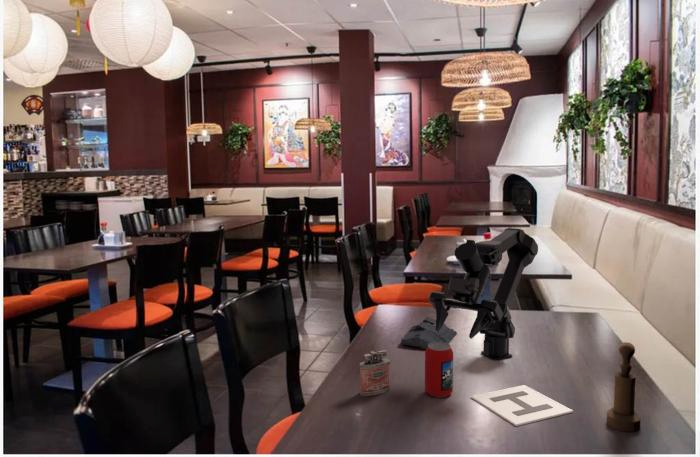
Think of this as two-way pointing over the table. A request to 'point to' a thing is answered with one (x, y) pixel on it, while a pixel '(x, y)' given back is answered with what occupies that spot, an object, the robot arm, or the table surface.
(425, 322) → the dark slate chunk
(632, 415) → the brown knobbed pedestal
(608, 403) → the table surface
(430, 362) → the beverage can
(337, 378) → the table surface
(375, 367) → the lighter
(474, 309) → the robot arm
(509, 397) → the letter mat
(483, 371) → the table surface
